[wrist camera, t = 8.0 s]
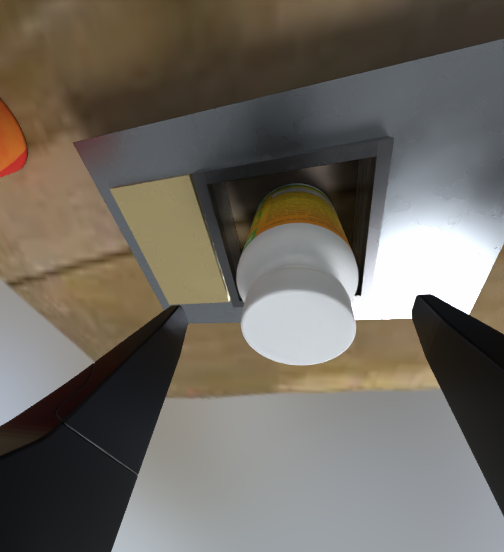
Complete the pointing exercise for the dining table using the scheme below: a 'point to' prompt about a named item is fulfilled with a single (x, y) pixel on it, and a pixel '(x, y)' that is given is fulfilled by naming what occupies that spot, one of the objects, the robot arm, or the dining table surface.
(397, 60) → the dining table surface
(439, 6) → the dining table surface
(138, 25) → the dining table surface
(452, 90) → the grey base block
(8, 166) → the paper cup
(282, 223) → the supplement bottle
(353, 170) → the dining table surface
